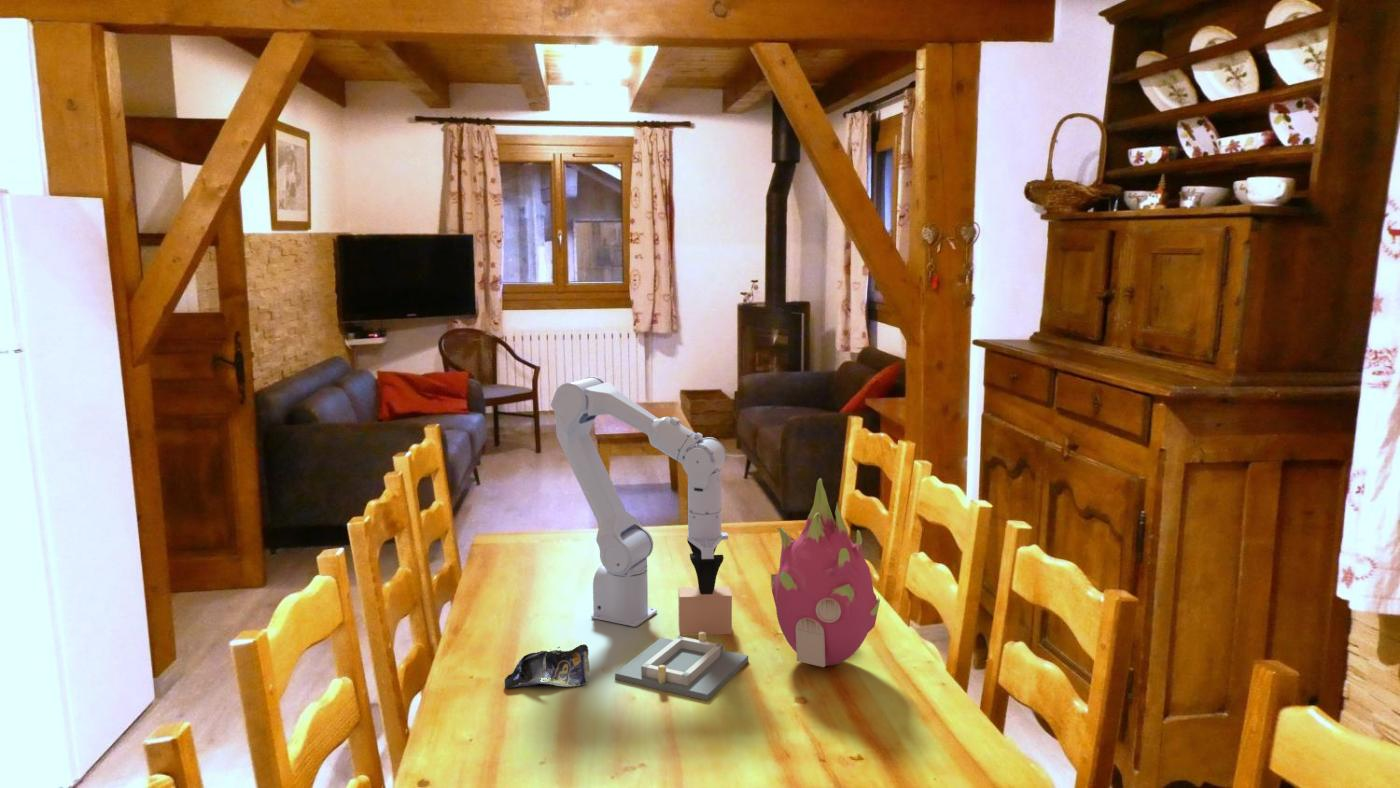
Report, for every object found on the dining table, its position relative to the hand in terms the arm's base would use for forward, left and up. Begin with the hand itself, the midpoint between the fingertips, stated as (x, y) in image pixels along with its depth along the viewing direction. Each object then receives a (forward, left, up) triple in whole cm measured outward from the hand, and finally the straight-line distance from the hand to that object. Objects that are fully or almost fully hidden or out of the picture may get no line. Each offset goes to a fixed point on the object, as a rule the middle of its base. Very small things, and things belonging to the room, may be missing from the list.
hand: (705, 585), depth 167 cm
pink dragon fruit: (+23, -4, -8) cm, 25 cm away
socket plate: (+4, -16, -8) cm, 18 cm away
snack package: (-14, -28, -8) cm, 33 cm away
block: (0, 0, -8) cm, 8 cm away
